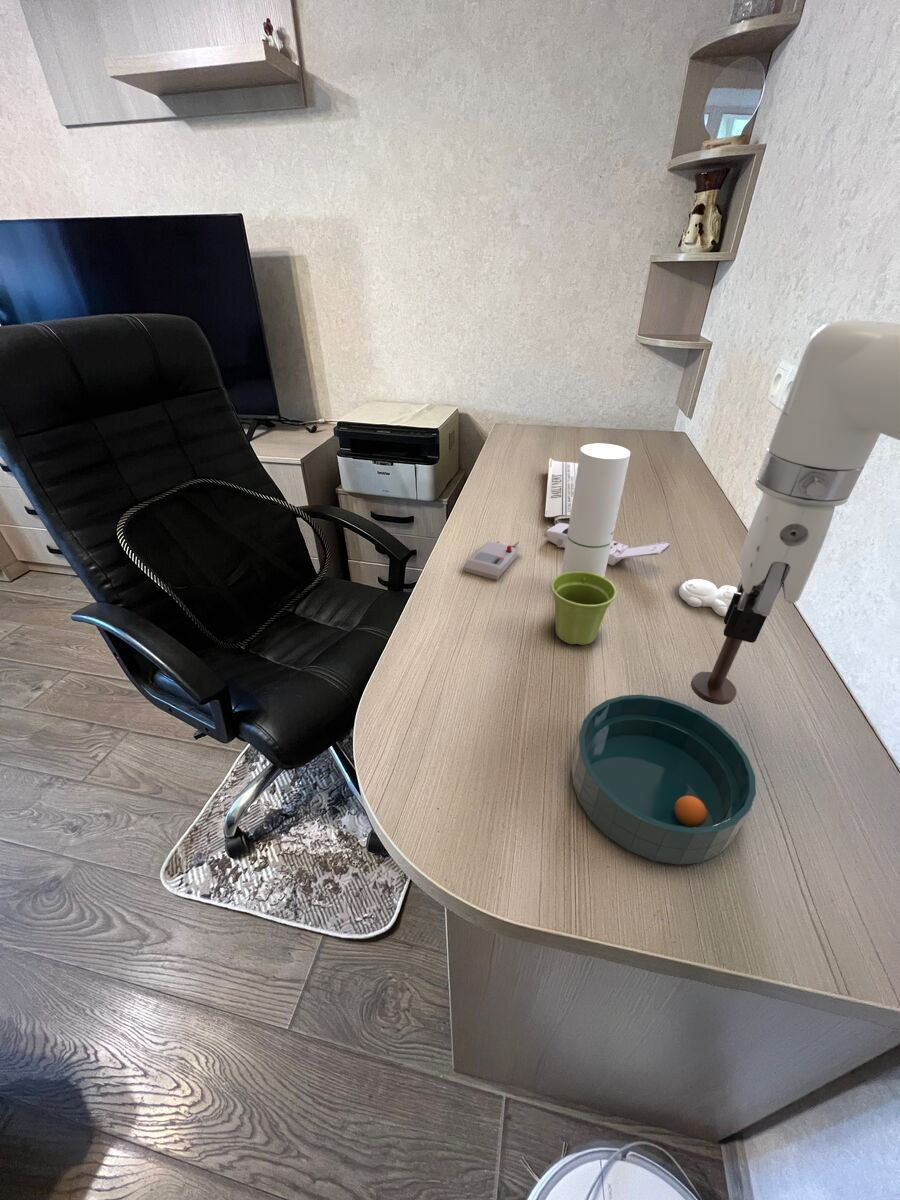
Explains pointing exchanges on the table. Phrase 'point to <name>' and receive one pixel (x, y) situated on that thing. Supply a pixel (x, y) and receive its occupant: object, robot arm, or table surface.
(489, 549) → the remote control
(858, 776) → the table surface
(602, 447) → the cylindrical container
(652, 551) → the mobile phone
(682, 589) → the white toy figurine
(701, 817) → the ball
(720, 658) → the stirring stick
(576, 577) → the plant pot
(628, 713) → the bowl
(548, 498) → the newspaper
